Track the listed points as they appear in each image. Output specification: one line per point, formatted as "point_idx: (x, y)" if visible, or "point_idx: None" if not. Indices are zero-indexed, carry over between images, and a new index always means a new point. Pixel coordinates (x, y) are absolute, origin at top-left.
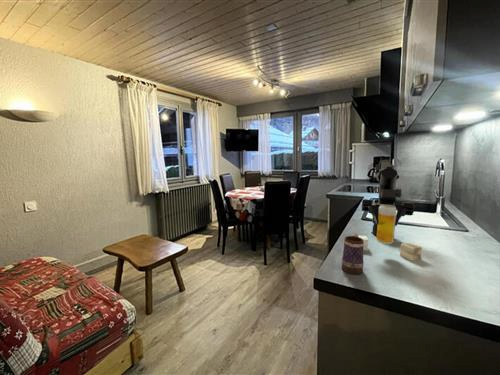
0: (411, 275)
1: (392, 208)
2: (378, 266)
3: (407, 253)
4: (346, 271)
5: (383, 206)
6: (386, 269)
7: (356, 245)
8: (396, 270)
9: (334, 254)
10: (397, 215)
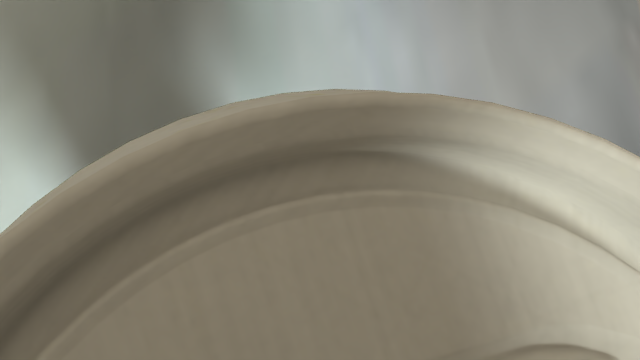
0: (19, 3)
1: (26, 234)
2: (270, 26)
3: None
4: None
5: (631, 158)
6: (205, 4)
7: None
8: (131, 32)
9: (633, 59)
10: None
